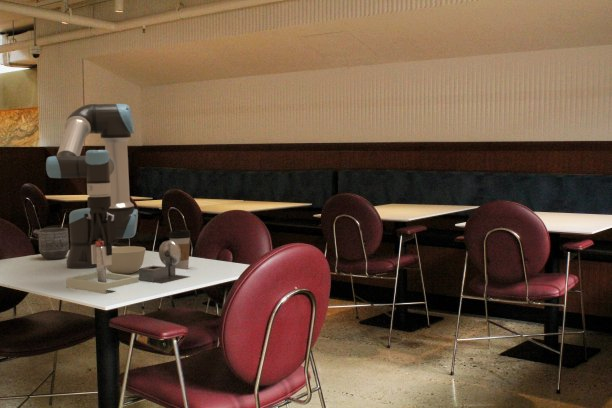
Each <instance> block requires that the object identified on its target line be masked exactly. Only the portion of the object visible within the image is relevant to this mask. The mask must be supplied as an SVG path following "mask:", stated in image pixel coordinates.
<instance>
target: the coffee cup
mask: <svg viewBox="0 0 612 408" xmlns="http://www.w3.org/2000/svg"><path fill="white" fill-rule="evenodd" d="M191 236H192V235H191V232H190V230H189V229H185V230H173V231H169V233H168V239H169V240H173V241H175V242H176V243H177V244H178V245H179V247H180V250H181V259H180V261H179V263H178V264H176V265H175V269H180V270H188V269H189V263H190V260H189V259H190V248H191V247H190V245H191V242H190V241H191V240H190V238H191Z"/></svg>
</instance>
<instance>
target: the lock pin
mask: <svg viewBox="0 0 612 408" xmlns="http://www.w3.org/2000/svg"><path fill="white" fill-rule="evenodd" d="M95 243H96V261H97V267H96V270H97V271H96V272H97V276H98V278H97V282H103V283H107V278H106V272H107V269H106V266H104V258H103V245H105V244H104V240H100V241H95Z"/></svg>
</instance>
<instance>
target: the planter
mask: <svg viewBox="0 0 612 408" xmlns="http://www.w3.org/2000/svg"><path fill="white" fill-rule="evenodd" d="M37 232H38V251H39V253H40V255H41V257H42V258H43V259H44V260H45V259H46V261H56V260H63V259H65V258H66V256H67V255H68V254H69V251H70V242H69V241H70V239H69V228H68V227H48V228H47V227H46V228H40V229H38V230H37Z"/></svg>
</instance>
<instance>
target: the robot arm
mask: <svg viewBox="0 0 612 408" xmlns="http://www.w3.org/2000/svg"><path fill="white" fill-rule="evenodd" d="M134 122H135V121H134V117H133V112H132V110H131V107H130V105H129V104H125V103H89V104H85V105H82V106H80V107H78V108H77V109H75V110H73V112H72V113H70V114H69V116H68V117H67V118H66V120H65V122H64V130H65V132H64V134H63V137H62V140H61V142H60V146H59V147H58V151H57V153H56V155H52V156H48V157H47V158H46V162H45V170H46V174H47V176H48V177H49V178H50V179H73V178H75V179H77V178H78V179H79V178H86V193H87V194H86V195H88V197H87V199H86V200H87V207H86V208H79V209H75V210H72V211H71V212H70V213H69V217H68V218H69V220H68V221H69V222H68V224H69V241H70V242H69V251H68V254H67V255H68V256H67V259H66V267H67V268H70V269H89V268H97V261H96V243H95V241H101V240H103V241H104V245H103V258H104V266H107V265H112V259H111V255H112V247H113V245H116V244H117V239H130V238H134V237H135V235H136V234H137V227H138V217H139V214H138V213H139V210H138V209H137V208H135V205H134V203H133V202H131V200H130V178H129V157H128V155H129V154H128V141H130V140H131V138H132V137H131V136H132V134H134V133H135V124H134ZM91 134H93V135H94V134H96V135H97V134H99V135H100V139H101V140H102V141H103V142H104V149H98V150H97V149H89V150H87V151H86V152H85V155H81V153H82V150H83V147H84V144H85V141H86V138H87V137H88V136H89V135H91Z"/></svg>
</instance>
